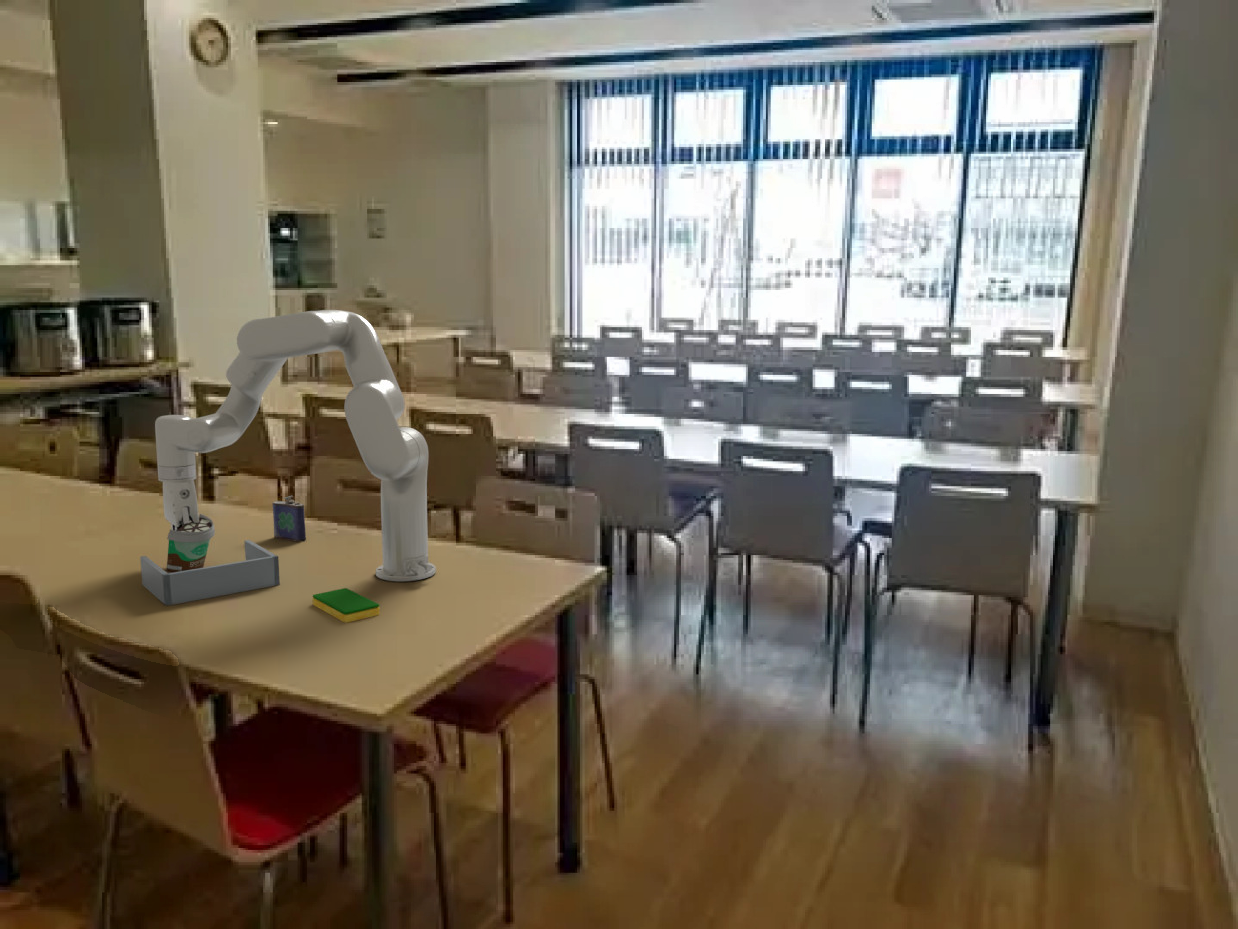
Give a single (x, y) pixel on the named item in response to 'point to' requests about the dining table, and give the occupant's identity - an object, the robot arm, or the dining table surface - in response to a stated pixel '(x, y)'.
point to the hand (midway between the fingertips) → (182, 554)
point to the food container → (189, 545)
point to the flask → (289, 520)
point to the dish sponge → (346, 605)
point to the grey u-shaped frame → (212, 577)
